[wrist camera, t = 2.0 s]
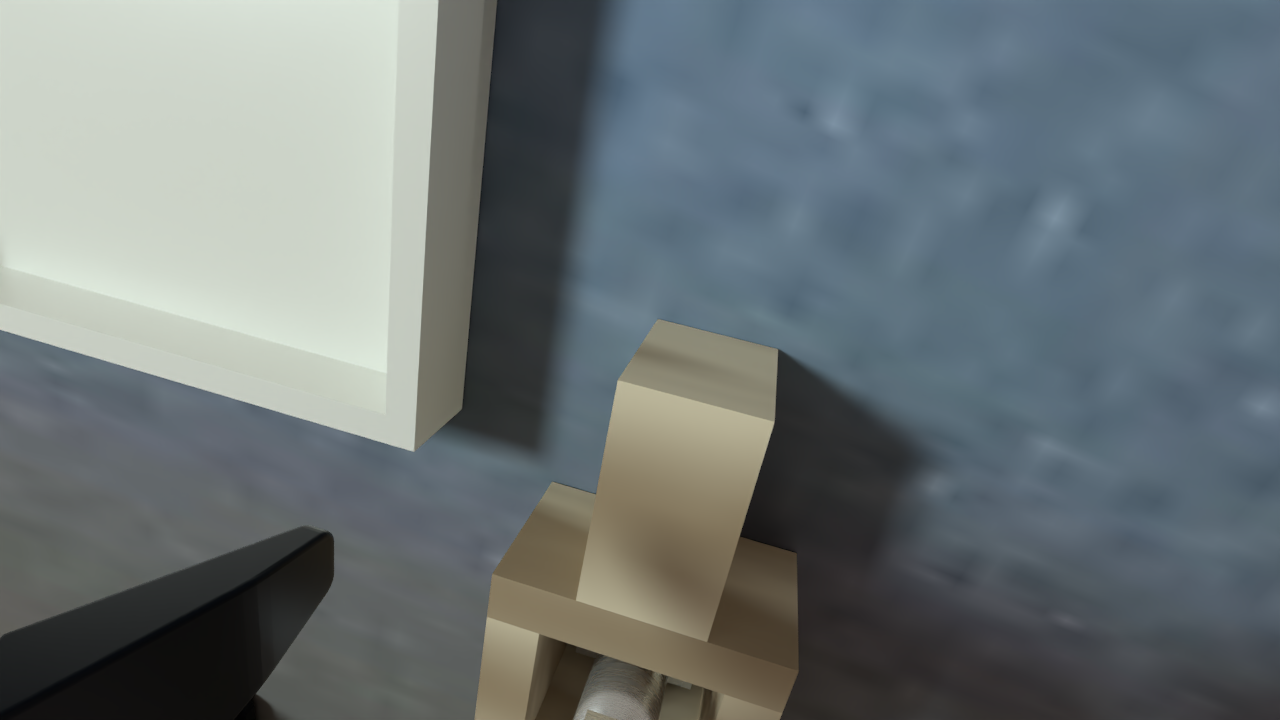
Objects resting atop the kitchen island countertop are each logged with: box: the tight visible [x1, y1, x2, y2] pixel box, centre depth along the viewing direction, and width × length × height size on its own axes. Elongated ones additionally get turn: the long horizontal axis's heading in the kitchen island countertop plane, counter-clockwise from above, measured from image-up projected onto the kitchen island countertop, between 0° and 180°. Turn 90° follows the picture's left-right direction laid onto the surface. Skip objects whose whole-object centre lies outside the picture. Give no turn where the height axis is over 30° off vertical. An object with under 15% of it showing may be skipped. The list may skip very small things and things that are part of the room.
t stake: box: [573, 646, 692, 720], centre depth 16 cm, size 4×4×6 cm
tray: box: [0, 0, 497, 452], centre depth 15 cm, size 17×12×2 cm
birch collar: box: [475, 319, 799, 720], centre depth 16 cm, size 12×7×4 cm, turn 169°
